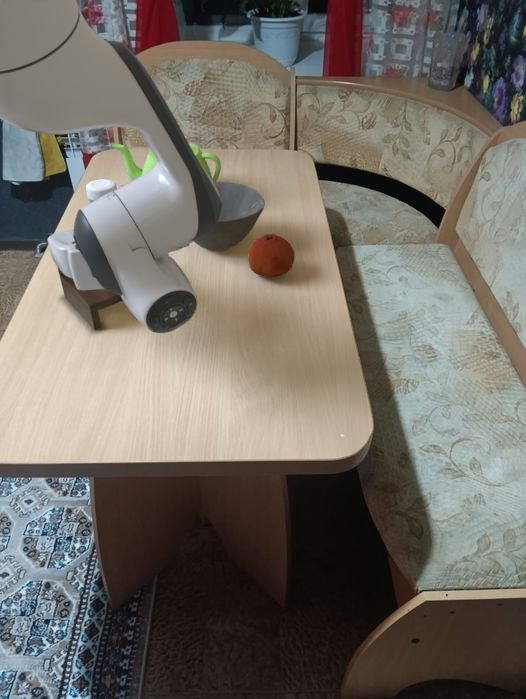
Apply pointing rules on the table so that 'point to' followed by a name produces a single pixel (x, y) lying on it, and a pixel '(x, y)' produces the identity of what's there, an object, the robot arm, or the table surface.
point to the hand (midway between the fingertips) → (105, 219)
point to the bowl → (233, 216)
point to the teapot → (151, 161)
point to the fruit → (271, 256)
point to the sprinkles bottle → (99, 188)
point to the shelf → (88, 300)
